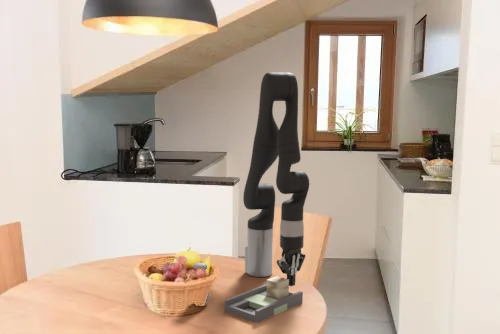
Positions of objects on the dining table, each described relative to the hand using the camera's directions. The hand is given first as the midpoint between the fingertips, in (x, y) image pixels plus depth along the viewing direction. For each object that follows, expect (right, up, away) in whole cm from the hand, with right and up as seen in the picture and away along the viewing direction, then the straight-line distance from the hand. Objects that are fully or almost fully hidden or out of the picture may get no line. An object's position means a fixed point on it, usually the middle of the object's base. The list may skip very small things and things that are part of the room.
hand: (290, 285), depth 176 cm
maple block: (-5, -2, -5) cm, 7 cm away
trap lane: (-9, -5, -9) cm, 14 cm away
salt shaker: (-29, -4, -8) cm, 30 cm away
